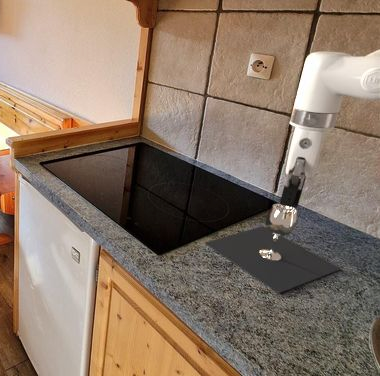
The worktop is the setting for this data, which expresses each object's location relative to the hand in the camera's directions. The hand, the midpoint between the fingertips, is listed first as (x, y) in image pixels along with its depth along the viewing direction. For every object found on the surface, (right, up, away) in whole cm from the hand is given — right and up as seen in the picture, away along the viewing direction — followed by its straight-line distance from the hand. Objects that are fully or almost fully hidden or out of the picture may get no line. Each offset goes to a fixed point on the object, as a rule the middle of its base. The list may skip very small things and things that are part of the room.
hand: (291, 197), depth 86 cm
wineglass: (-1, -14, +7) cm, 15 cm away
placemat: (-1, -14, +7) cm, 15 cm away
